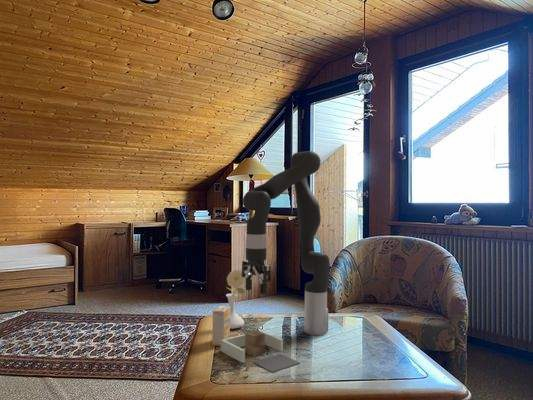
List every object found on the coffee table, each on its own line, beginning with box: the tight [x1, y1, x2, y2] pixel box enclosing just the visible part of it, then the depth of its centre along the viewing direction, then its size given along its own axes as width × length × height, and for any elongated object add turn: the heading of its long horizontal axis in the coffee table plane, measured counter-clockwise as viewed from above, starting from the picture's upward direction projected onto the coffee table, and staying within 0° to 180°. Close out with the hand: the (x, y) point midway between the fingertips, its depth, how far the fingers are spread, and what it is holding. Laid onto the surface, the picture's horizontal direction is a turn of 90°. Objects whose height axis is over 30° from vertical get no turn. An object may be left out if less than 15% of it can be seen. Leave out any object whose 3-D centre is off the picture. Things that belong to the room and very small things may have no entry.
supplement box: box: [211, 305, 231, 347], centre depth 153 cm, size 8×5×13 cm, turn 168°
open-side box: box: [220, 330, 284, 364], centre depth 144 cm, size 18×14×4 cm
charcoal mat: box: [253, 353, 301, 374], centre depth 134 cm, size 12×10×1 cm
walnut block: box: [244, 329, 266, 357], centre depth 143 cm, size 5×5×7 cm
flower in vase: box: [225, 269, 246, 330], centre depth 172 cm, size 13×11×25 cm
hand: (255, 291), depth 143 cm, fingers open, 8 cm apart
